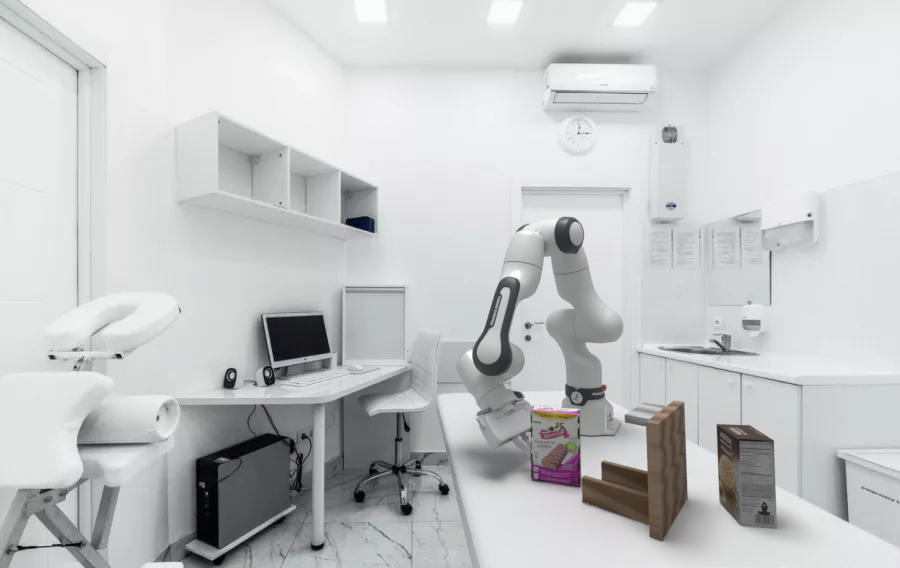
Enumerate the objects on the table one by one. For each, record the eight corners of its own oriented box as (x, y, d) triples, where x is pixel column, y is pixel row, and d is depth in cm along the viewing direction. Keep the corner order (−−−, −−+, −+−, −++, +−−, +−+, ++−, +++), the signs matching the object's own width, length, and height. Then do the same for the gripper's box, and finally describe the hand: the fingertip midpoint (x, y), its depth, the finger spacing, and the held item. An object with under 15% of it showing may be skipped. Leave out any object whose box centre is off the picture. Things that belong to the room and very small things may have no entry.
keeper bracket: (610, 476, 95) (608, 391, 96) (687, 498, 84) (684, 401, 85) (573, 509, 80) (571, 408, 81) (662, 541, 69) (658, 424, 70)
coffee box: (717, 501, 82) (714, 422, 83) (752, 504, 81) (749, 424, 82) (740, 526, 73) (736, 437, 74) (780, 529, 72) (776, 439, 73)
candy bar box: (530, 481, 92) (529, 409, 93) (533, 472, 97) (532, 404, 98) (581, 488, 89) (579, 413, 90) (581, 478, 94) (580, 407, 94)
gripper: (480, 405, 95) (515, 457, 88) (525, 390, 111) (558, 434, 104) (465, 421, 98) (499, 472, 91) (511, 404, 113) (543, 447, 106)
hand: (531, 452), depth 98 cm, fingers closed
